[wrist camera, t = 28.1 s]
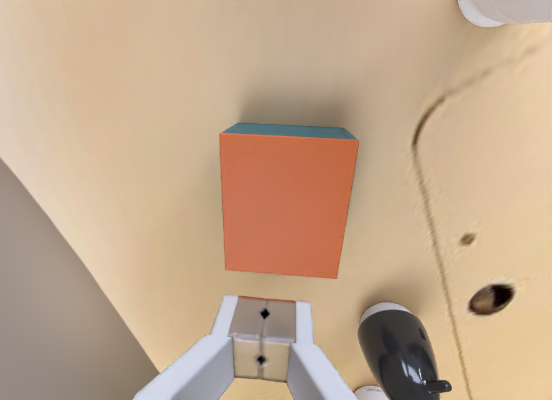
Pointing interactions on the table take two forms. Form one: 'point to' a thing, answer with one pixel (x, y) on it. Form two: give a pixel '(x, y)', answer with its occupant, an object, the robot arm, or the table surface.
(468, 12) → the jar
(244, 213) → the lid
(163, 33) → the table surface
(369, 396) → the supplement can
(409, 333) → the pump dispenser
